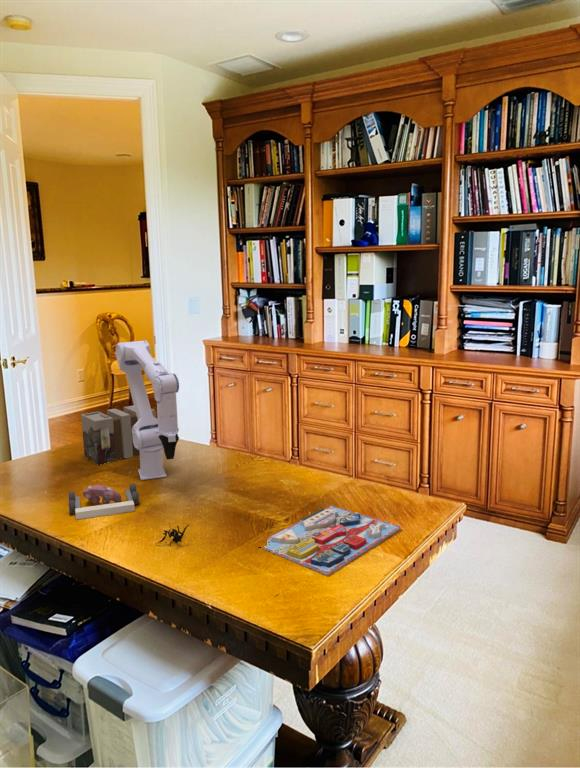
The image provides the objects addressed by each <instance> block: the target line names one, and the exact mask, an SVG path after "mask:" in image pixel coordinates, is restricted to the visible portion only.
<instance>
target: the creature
mask: <svg viewBox="0 0 580 768" xmlns="http://www.w3.org/2000/svg"><path fill="white" fill-rule="evenodd" d="M168 524H169V528H170V529H169V530H165V529H164V530H163V534H162V536H163V538H162V539H160V540H159V541H158V542H156V543H155V545H157V544H159V543H160V544H161V543H163V542H164V541H165V539H166V537H167V536H168V537H169V538H172V537H173V538H172V540H171V541H170V542H169V543H168V542H166V541H165V542H164V544H167V545H168V546H169V547H171V545H172V542H175V543H176V544H178V543H181V542H182V539H183V537H184V534H185V532H186V530H187V528H188V527H189V526H190V524H188V525H186V526H185V527H184V528H183V530H182V532H181V531H180V528H179V527H180V526H179V525H177V526H176V528H177V529H175V528H172V527H171V524H170V523H168Z"/></svg>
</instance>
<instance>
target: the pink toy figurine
mask: <svg viewBox="0 0 580 768" xmlns="http://www.w3.org/2000/svg"><path fill="white" fill-rule="evenodd" d="M82 496H83V497H84V498H86V499H87V500H89V501H91V502H92V503H93V504H100V502H101V503H103V505H104V504H110V503H111V502H113V503H118V502H119V501H120V502H122V495H121V493H119V492H117V491H116V489H114V488H111V487H110V486H104V485H102V484H101V485H100V484H96V485H93V486H92V485H88V487H86V488H85V489H84V490H83V492H82Z"/></svg>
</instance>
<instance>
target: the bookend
mask: <svg viewBox="0 0 580 768" xmlns="http://www.w3.org/2000/svg"><path fill="white" fill-rule="evenodd" d="M151 410H152V414H153V417H155V418H156V410H155V409H153V408H151ZM80 418H81V431H82V432H81V433H82V441H83V452H84V458H86V457H87V458H88V459H87V458H86V459H87V460H89V459H90V460H91V462H92V461H93V463H94V462H95V463H96V464H95V463H94V464H95V465H97V464H98V465H97V466H101V465H100V464H103V465H105V464H104V463H107V462H111V463H113V462H112V461H116V462H117V460H116V459H119V460H121V459H120V458H129V457H133V458H134V456H133V455H136V456H139V455H138V454H140V453H139V450H137V449H136V448H135V446H134V444H133V438H132V427H133V426H134V425H135V424H136V422H137V421H138V418H137V415H136V411H135V407H134V404H133V405H128V406H127V405H126V406H123V410H120V409H117V408H110V409H107V410H106V414H105V413H103V412H101V411H93V412H89V413H81V414H80ZM129 459H130V458H129ZM90 460H89V461H90ZM107 464H108V463H107Z"/></svg>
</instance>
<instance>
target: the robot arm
mask: <svg viewBox="0 0 580 768" xmlns="http://www.w3.org/2000/svg"><path fill="white" fill-rule="evenodd" d="M115 358H116V361H117V365H118V368H119V370H120V371H121V372H123V373H125V376H126V380H127V383H128V388H129V391H130V396H131V399H132V403H133V405H134V407H135V411H136V415H137V418H138V421H137V422H136V424H135V425H134V426H133V427H132V438H133V444H134V446H135V448H136V449H137V450H139V453H140V455H139V466H140V468H139V469H137V472H138V474H139V478H140V480H142V481H143V480H151V479H160V478H167V473H166V471H165V469H164V458H163V457H164V456H165V458H166V460H174V458H175V453H176V448H177V444H178V442H179V439H180V436H179V434H178V433H179V431H180V430H179V429H180V427H179V426H178V425H179V424H178V409H177V408H178V405H177V403H178V402H177V393H179V391H180V382H179V378H178V376H177V374H176V373H171V372H169V371H167V369H166V368H165V366H163V365H162V363H161V362H159V361H158V360H157V361H156V360H154V357H153V356H152V355H151V347H150V343H149V342H148V341H147V340H146V339H143V340H139V341H137V340H136V341H128V342H127V341H125V342H119V341H118V343H117V344H116V345H115ZM143 370H144V375H145V377H146V378H147V379H148V380H149V381H150V383H151V385H152V390H153V394H154V395H153V396H154V400H155V401H156V407H157V408H156V409H157V410H156V411H157V418H156V416H155V417H153V414H152V410H151V409H152V408H151V404H150V400H149V396H148V392H147V389H146V386H145V381H144V377H143V375H142V371H143ZM163 452H164V456H163Z"/></svg>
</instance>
